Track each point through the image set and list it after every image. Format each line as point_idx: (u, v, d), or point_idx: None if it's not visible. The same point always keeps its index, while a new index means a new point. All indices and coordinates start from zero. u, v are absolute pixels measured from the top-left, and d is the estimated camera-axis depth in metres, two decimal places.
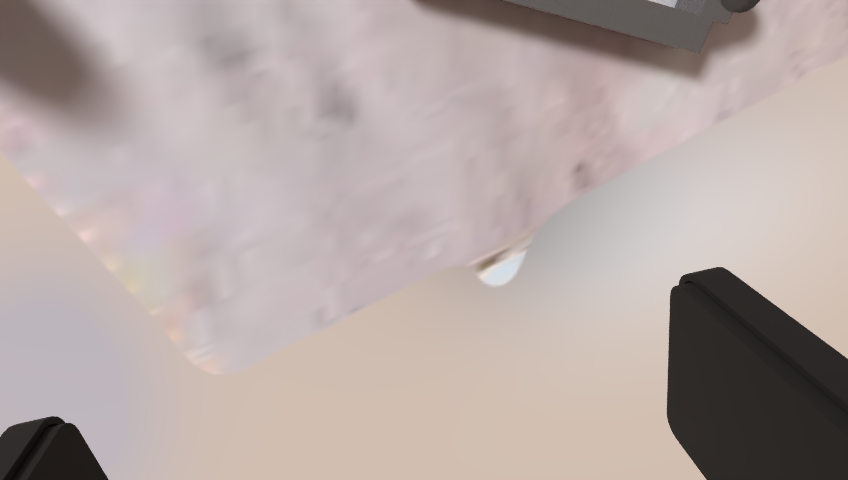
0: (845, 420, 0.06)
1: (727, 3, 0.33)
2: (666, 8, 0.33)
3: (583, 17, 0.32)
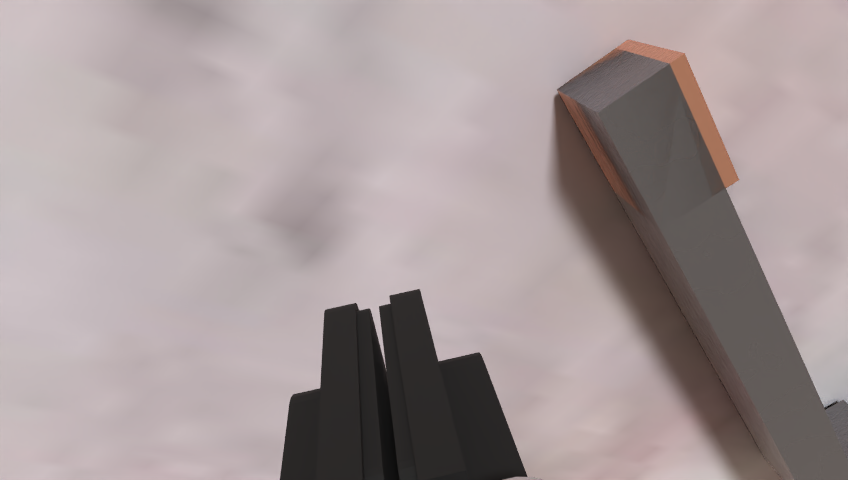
0: (404, 430, 0.06)
1: None
2: (838, 449, 0.20)
3: (757, 395, 0.19)
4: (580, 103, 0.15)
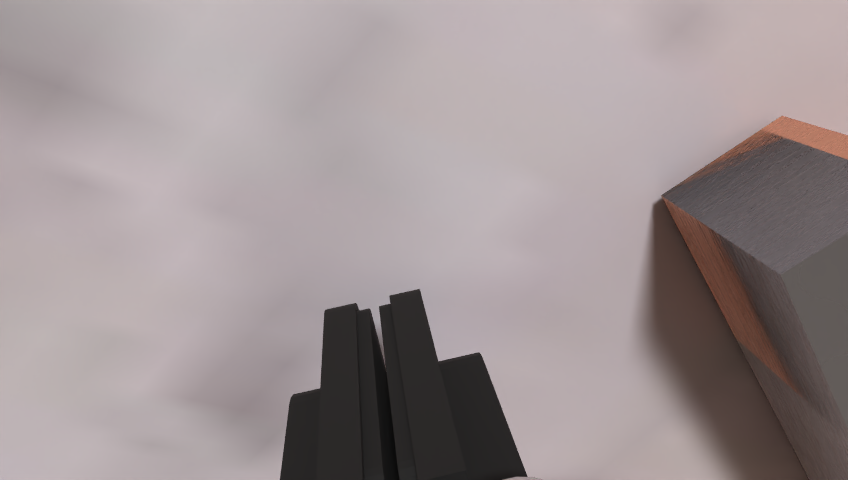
0: (404, 430, 0.06)
1: None
2: None
3: None
4: (725, 238, 0.08)
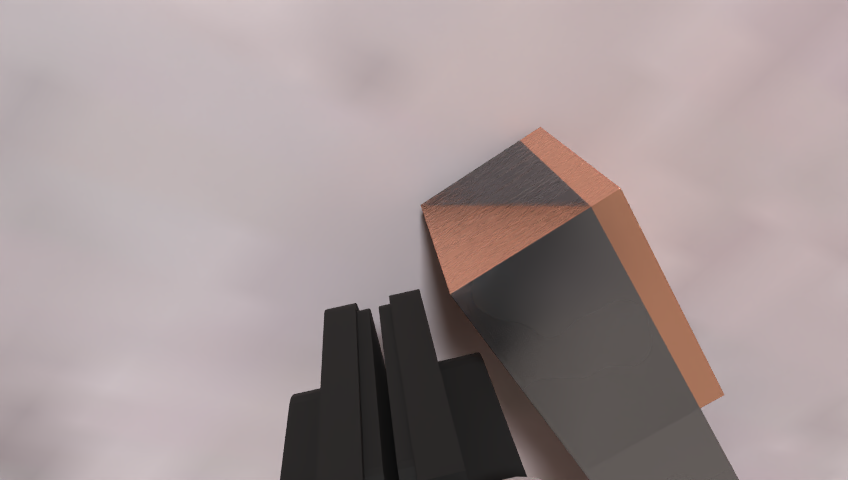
0: (403, 430, 0.06)
1: None
2: None
3: None
4: (437, 253, 0.08)
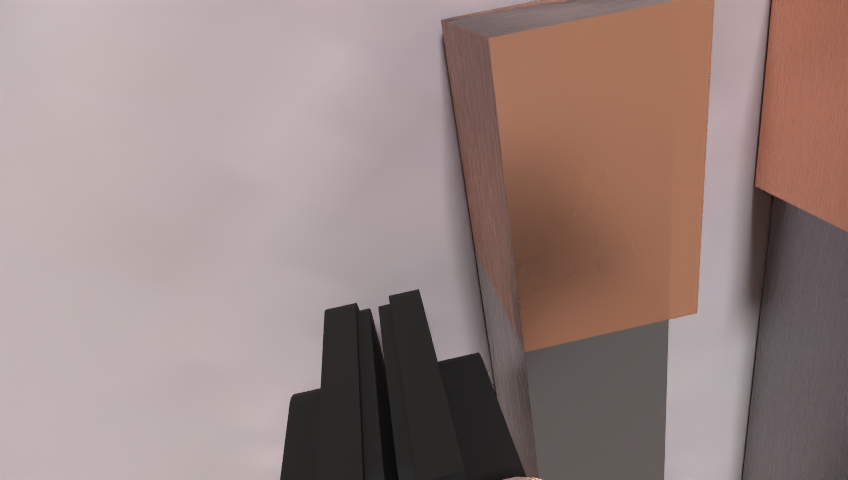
0: (403, 430, 0.06)
1: None
2: None
3: None
4: (466, 31, 0.07)
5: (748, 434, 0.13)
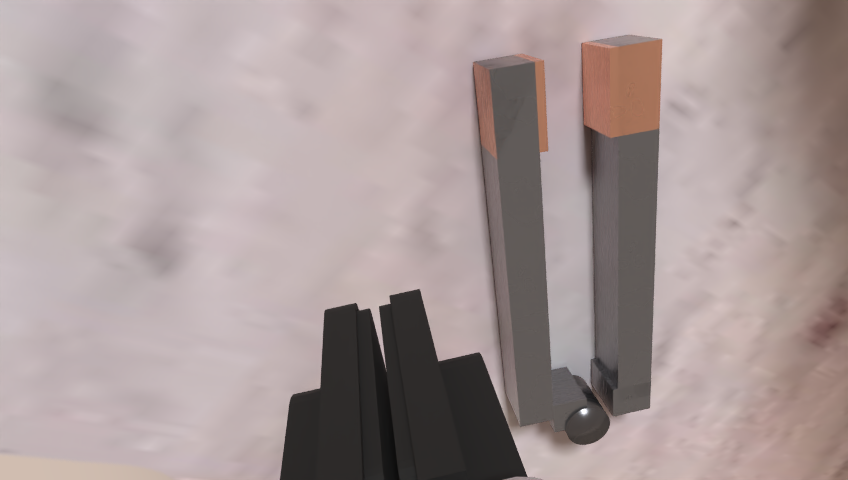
0: (404, 430, 0.06)
1: (572, 422, 0.32)
2: (549, 375, 0.31)
3: (514, 307, 0.28)
4: (482, 67, 0.24)
5: (593, 237, 0.31)
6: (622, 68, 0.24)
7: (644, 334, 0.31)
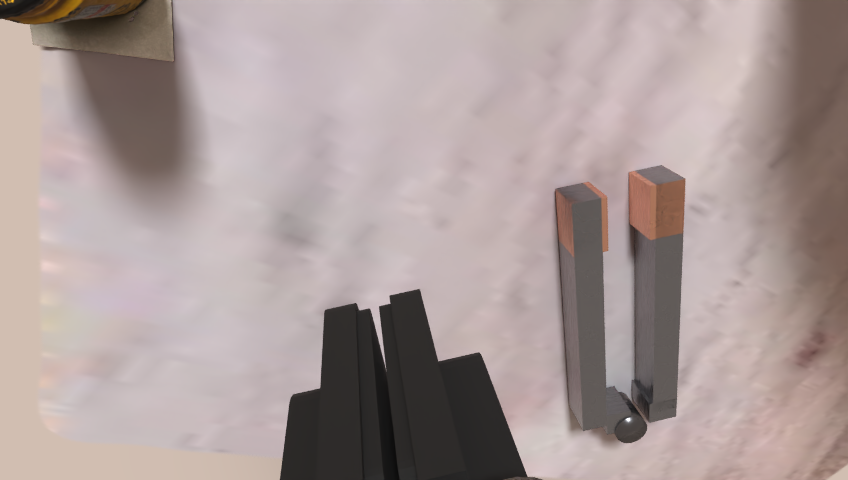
0: (404, 430, 0.06)
1: (620, 427, 0.45)
2: (604, 395, 0.43)
3: (582, 350, 0.41)
4: (565, 198, 0.37)
5: (635, 296, 0.44)
6: (658, 197, 0.37)
7: (672, 365, 0.43)
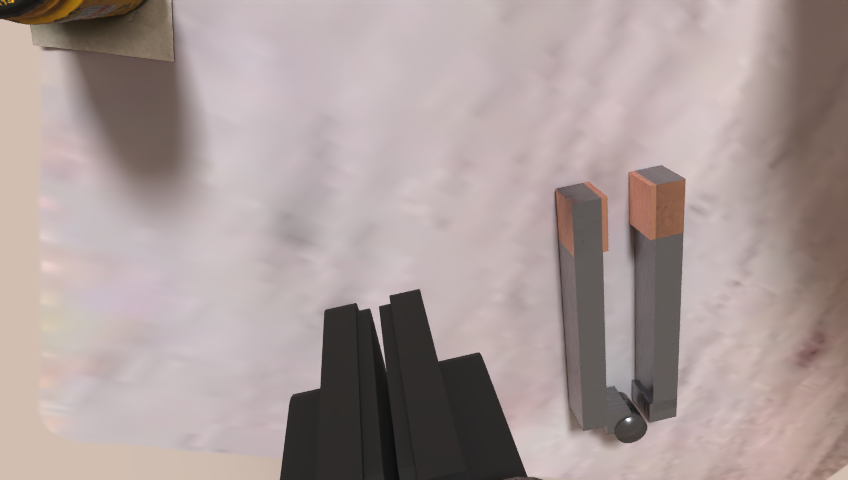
0: (404, 429, 0.06)
1: (620, 427, 0.45)
2: (604, 395, 0.43)
3: (582, 350, 0.41)
4: (565, 198, 0.37)
5: (635, 296, 0.44)
6: (658, 197, 0.37)
7: (672, 365, 0.43)
